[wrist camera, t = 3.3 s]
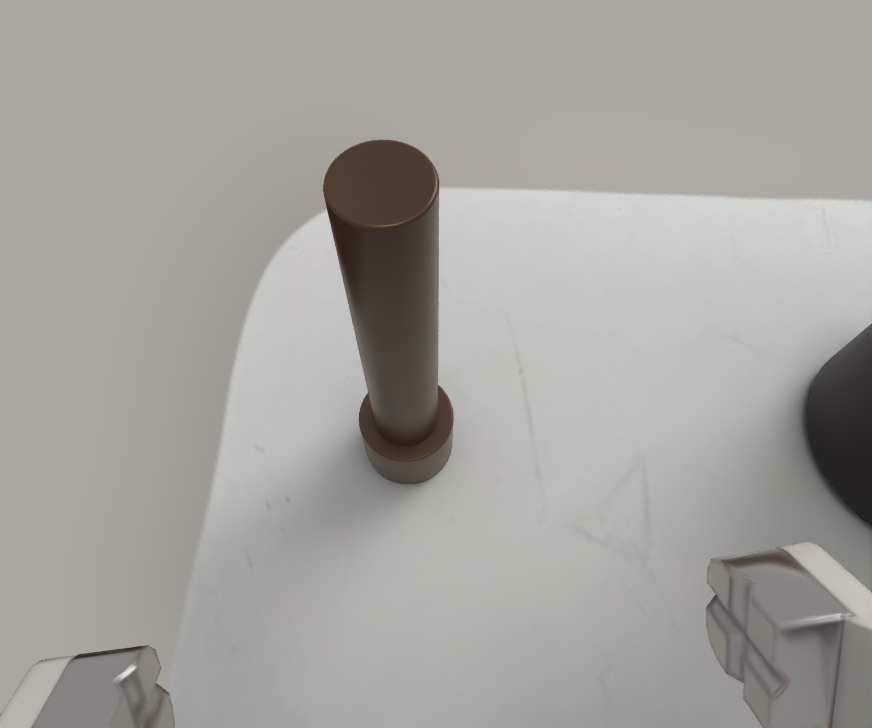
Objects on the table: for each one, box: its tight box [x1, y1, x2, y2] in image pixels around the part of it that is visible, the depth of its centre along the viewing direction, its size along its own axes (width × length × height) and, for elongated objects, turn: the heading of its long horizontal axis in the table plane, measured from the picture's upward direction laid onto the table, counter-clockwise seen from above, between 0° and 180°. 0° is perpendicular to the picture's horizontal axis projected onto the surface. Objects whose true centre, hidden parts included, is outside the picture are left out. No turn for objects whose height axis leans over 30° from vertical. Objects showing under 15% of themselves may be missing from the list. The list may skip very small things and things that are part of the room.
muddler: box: [323, 140, 453, 484], centre depth 21 cm, size 4×4×16 cm
